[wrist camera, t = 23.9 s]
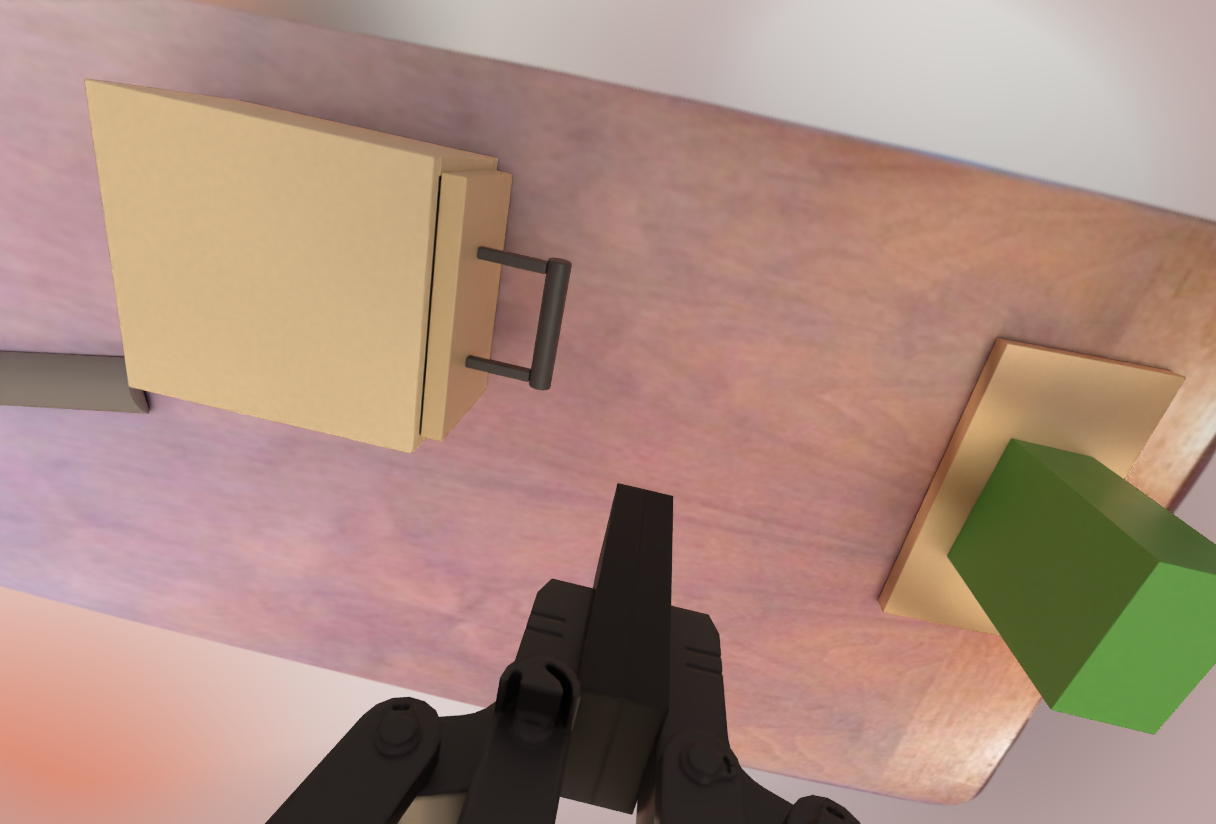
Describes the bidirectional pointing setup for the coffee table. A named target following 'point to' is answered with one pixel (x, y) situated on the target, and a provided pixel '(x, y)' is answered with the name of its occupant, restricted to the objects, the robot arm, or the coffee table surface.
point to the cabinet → (271, 258)
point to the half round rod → (68, 382)
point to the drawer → (478, 299)
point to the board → (1029, 411)
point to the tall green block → (1091, 586)
